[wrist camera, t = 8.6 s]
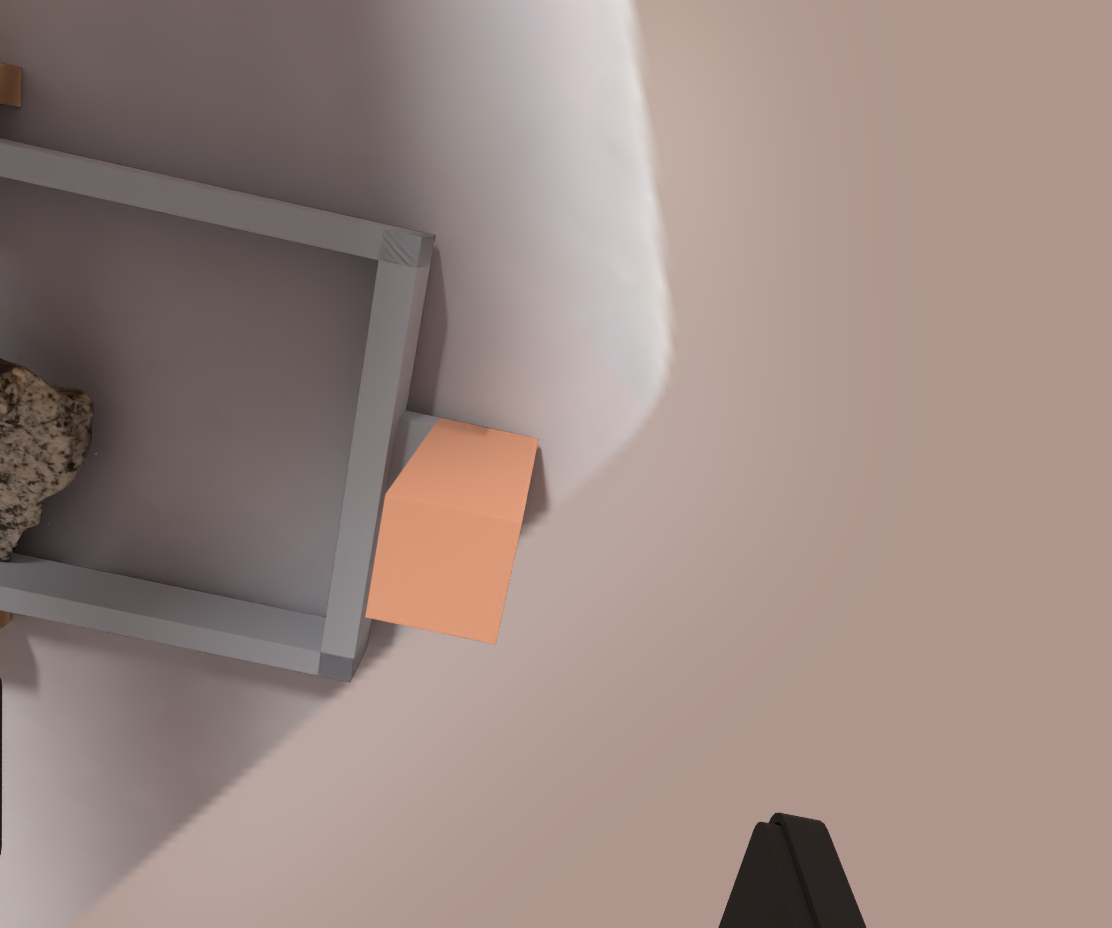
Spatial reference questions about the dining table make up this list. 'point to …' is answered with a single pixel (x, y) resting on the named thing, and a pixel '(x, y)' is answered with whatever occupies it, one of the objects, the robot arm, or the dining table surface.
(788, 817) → the robot arm
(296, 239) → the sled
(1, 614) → the brown wooden arch frame
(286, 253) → the dining table surface
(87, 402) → the rock sample
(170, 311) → the dining table surface
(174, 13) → the dining table surface
